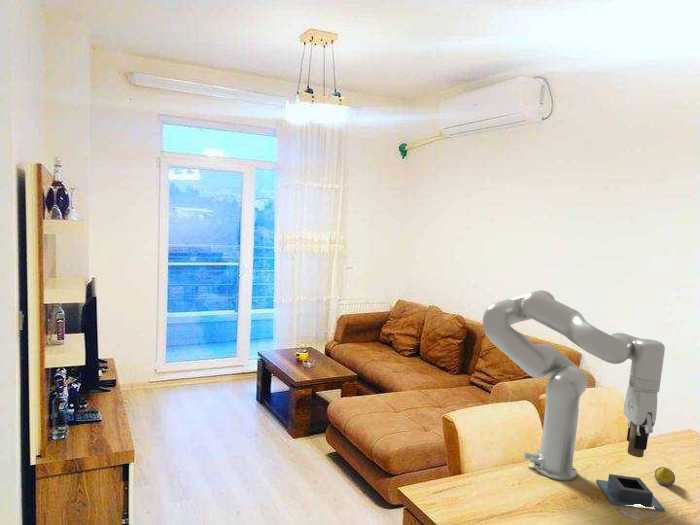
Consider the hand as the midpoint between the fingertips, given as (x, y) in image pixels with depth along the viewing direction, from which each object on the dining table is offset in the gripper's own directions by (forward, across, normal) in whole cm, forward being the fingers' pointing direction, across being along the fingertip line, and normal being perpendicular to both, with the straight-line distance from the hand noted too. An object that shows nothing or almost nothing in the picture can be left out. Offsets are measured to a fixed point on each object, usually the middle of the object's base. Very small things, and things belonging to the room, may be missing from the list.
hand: (636, 444), depth 145 cm
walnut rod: (+3, 0, 0) cm, 3 cm away
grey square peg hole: (+16, 0, 0) cm, 16 cm away
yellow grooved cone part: (+16, -10, +14) cm, 24 cm away
